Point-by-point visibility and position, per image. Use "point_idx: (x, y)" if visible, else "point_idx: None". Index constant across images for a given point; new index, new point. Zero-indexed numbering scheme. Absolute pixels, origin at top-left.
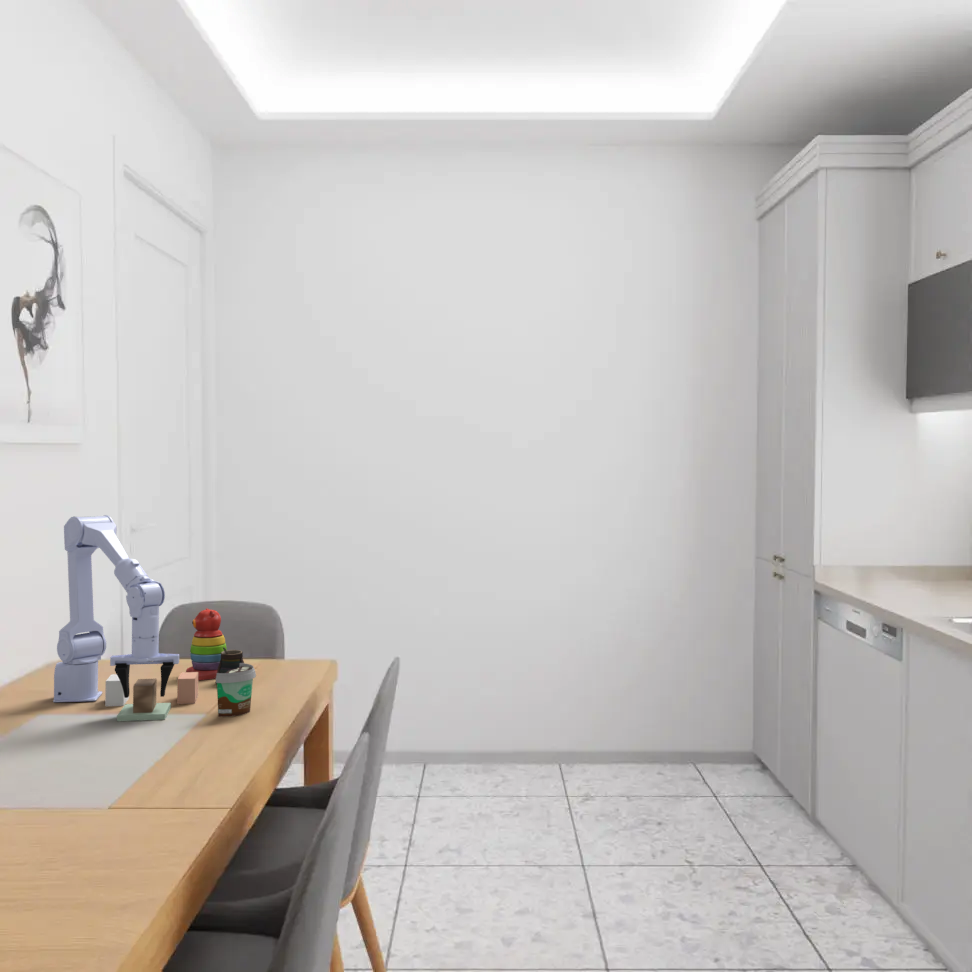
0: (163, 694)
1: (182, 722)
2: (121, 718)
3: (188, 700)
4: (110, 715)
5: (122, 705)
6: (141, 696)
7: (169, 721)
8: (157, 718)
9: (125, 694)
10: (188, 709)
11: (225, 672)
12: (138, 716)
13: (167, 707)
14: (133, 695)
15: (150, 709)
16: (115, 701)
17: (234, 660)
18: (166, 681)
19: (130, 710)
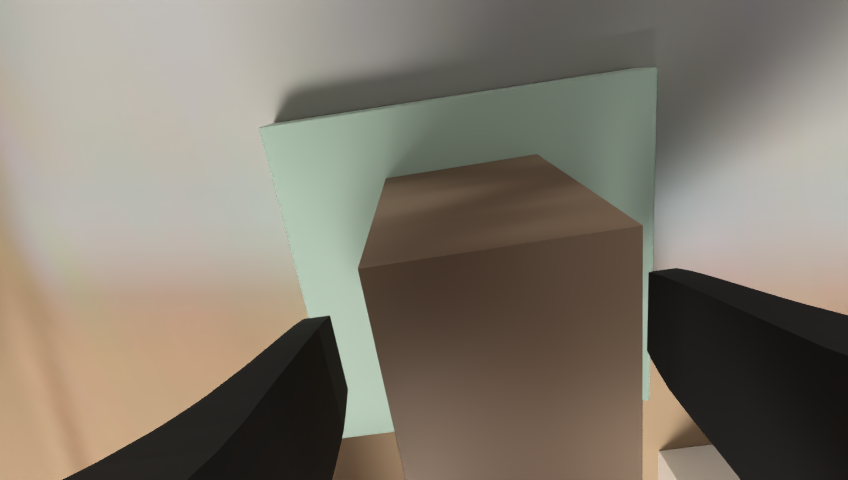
0: (294, 327)
1: (91, 32)
2: (609, 72)
3: None
4: (709, 235)
5: (666, 452)
6: (492, 202)
7: (213, 65)
8: (325, 115)
9: (689, 273)
10: (215, 381)
11: None
12: (474, 94)
13: None
14: (587, 190)
15: (396, 180)
16: (726, 469)
17: None
18: (189, 411)
19: None
